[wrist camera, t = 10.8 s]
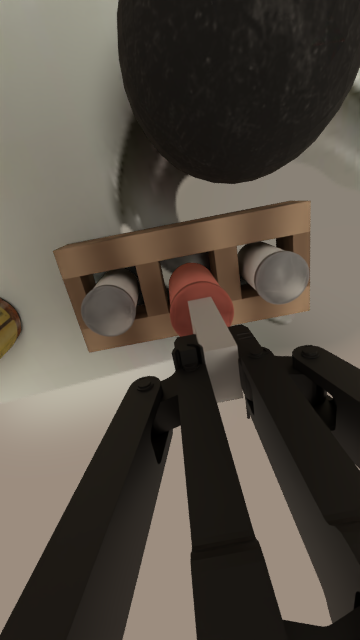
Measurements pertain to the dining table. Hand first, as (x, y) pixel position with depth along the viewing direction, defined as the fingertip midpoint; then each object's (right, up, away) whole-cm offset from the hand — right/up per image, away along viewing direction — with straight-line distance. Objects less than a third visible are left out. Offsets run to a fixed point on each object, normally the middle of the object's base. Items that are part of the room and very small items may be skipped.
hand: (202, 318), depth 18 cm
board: (-1, +5, +11) cm, 12 cm away
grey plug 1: (-8, +3, +10) cm, 13 cm away
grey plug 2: (+6, +6, +10) cm, 13 cm away
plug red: (0, +3, +7) cm, 7 cm away
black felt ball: (+1, +18, +6) cm, 19 cm away
